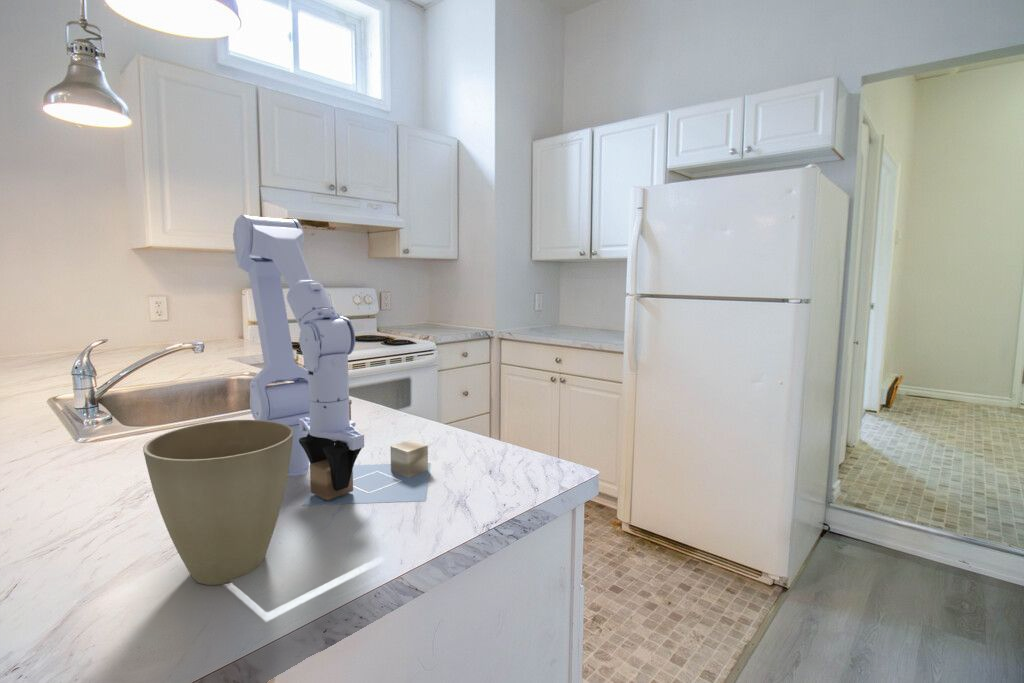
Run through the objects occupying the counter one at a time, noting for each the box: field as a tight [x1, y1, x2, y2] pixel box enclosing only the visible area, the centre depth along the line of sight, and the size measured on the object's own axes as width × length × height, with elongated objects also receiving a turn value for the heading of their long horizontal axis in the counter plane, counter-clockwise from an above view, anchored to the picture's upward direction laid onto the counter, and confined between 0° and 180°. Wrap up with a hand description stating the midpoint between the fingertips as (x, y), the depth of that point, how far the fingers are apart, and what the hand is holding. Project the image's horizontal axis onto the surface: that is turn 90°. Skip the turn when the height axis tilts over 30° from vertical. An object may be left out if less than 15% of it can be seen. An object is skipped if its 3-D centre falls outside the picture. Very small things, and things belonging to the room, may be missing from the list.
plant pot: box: [142, 419, 294, 586], centre depth 60 cm, size 15×15×16 cm
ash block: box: [389, 439, 429, 478], centre depth 90 cm, size 4×4×4 cm
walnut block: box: [309, 459, 353, 500], centre depth 80 cm, size 4×4×4 cm
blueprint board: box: [302, 462, 432, 507], centre depth 85 cm, size 18×16×1 cm
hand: (331, 484), depth 80 cm, fingers closed on walnut block, 4 cm apart
